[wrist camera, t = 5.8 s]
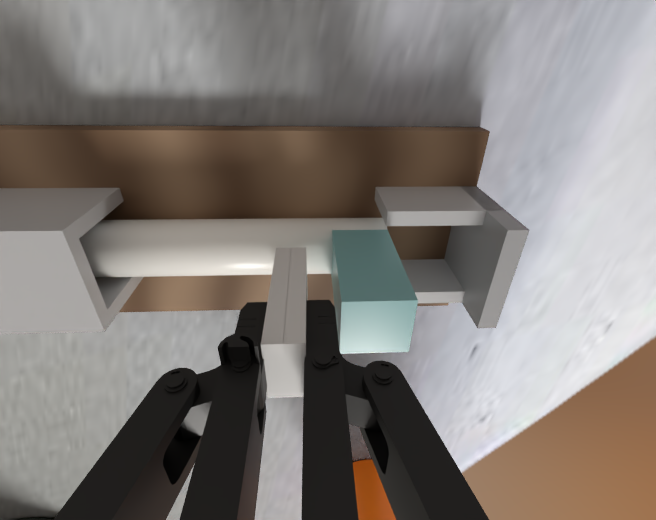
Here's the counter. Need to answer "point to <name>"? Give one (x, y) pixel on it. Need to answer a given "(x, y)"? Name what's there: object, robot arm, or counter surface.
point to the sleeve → (55, 262)
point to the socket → (459, 246)
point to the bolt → (258, 258)
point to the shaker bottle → (370, 493)
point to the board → (244, 184)
